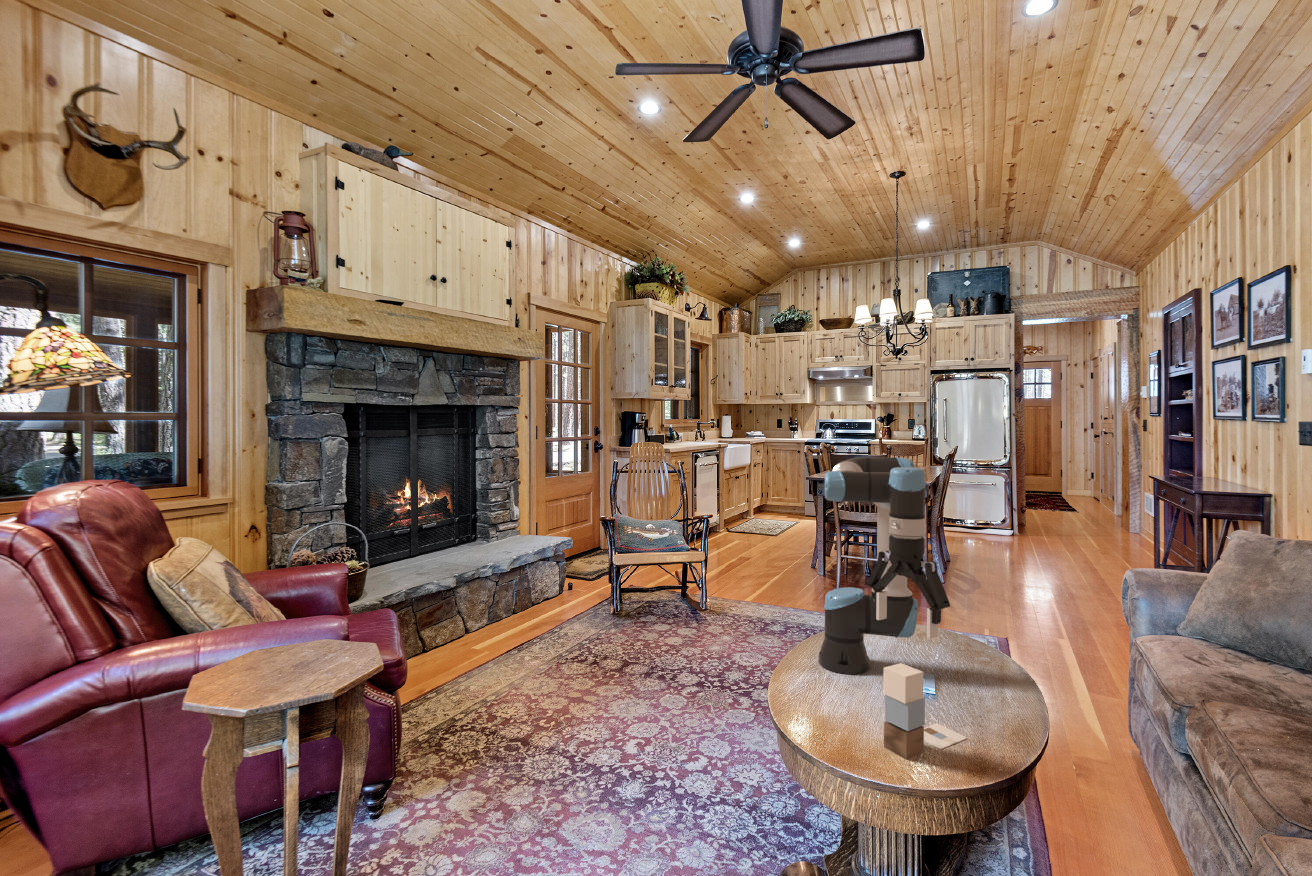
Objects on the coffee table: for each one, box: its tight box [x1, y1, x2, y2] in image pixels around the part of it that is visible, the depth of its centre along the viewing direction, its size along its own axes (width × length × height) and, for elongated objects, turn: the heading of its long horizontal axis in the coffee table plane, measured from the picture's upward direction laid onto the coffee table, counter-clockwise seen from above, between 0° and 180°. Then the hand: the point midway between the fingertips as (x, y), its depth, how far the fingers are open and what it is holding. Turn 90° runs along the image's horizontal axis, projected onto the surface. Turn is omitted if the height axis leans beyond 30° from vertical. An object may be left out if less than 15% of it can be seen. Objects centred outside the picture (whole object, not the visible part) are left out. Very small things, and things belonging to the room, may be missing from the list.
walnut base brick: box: [883, 720, 925, 760], centre depth 136 cm, size 6×6×6 cm
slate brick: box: [884, 694, 926, 731], centre depth 136 cm, size 6×6×6 cm
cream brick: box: [882, 662, 924, 704], centre depth 136 cm, size 6×6×6 cm
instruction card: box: [924, 722, 968, 751], centre depth 142 cm, size 8×10×1 cm
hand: (905, 627), depth 136 cm, fingers open, 13 cm apart
